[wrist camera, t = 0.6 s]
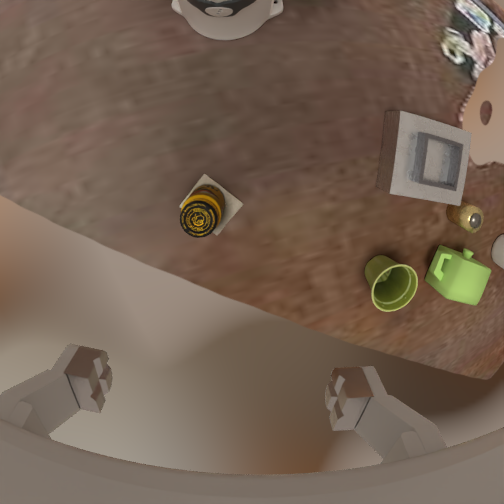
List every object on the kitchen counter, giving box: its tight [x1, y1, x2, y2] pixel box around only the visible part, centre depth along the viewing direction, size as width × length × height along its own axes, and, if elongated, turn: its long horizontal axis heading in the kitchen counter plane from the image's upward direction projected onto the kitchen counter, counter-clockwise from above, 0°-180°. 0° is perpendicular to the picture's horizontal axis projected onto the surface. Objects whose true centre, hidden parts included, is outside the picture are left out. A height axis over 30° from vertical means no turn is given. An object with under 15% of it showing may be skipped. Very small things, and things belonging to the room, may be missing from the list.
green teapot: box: [425, 245, 491, 305], centre depth 55 cm, size 18×10×10 cm, turn 75°
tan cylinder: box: [446, 200, 483, 233], centre depth 52 cm, size 5×5×8 cm
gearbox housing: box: [376, 111, 471, 206], centre depth 47 cm, size 14×16×8 cm
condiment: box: [179, 174, 243, 238], centre depth 48 cm, size 7×8×12 cm
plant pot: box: [365, 255, 418, 312], centre depth 55 cm, size 9×9×9 cm
